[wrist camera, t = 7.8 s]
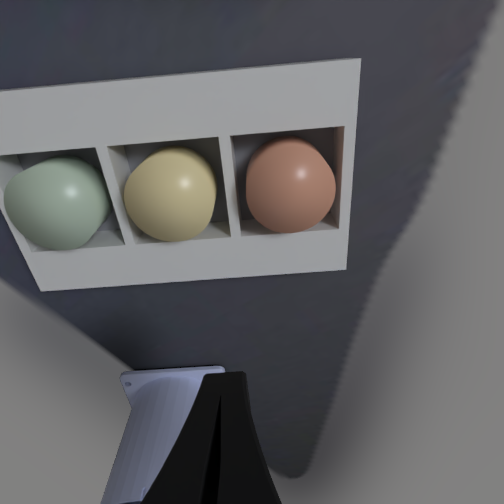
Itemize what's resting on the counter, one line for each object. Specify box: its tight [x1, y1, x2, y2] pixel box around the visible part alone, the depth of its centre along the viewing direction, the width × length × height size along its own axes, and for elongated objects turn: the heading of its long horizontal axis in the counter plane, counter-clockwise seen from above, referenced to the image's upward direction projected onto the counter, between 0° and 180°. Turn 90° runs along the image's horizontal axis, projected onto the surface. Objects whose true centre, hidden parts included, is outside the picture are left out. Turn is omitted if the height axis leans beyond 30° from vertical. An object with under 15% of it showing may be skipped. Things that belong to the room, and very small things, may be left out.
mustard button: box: [124, 146, 218, 242], centre depth 16 cm, size 4×4×2 cm
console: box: [0, 58, 361, 291], centre depth 17 cm, size 10×17×3 cm, turn 95°
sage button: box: [4, 155, 113, 250], centre depth 17 cm, size 4×4×2 cm
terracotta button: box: [246, 136, 336, 233], centre depth 16 cm, size 4×4×2 cm
